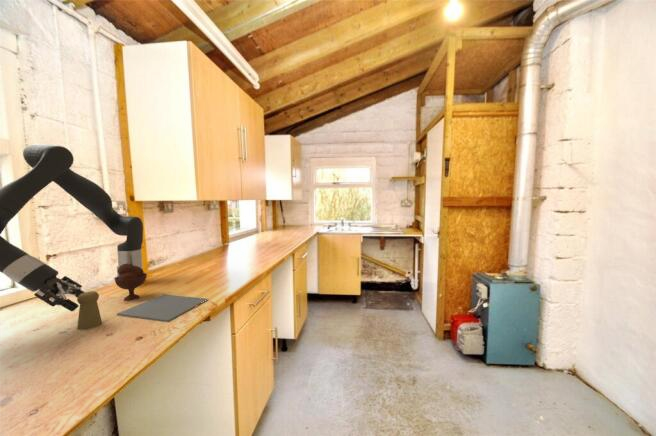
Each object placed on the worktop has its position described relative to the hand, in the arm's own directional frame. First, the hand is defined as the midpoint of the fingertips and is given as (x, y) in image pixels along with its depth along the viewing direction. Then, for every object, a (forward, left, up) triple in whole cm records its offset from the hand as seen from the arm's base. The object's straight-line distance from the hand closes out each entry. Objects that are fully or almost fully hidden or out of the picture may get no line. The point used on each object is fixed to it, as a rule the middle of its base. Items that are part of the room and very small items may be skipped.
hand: (82, 303), depth 85 cm
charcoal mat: (+13, +19, -7) cm, 24 cm away
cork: (+1, +1, -8) cm, 8 cm away
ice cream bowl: (-8, +23, -8) cm, 25 cm away
